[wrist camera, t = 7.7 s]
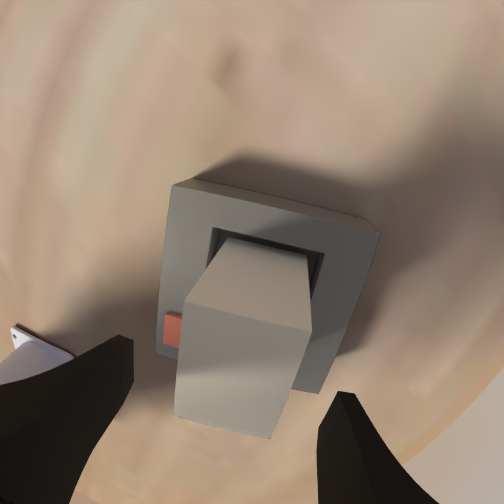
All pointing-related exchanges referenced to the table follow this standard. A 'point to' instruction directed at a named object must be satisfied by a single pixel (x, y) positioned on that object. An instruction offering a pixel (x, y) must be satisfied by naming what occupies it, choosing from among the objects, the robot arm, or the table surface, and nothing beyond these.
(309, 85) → the table surface
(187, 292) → the socket
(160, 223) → the table surface
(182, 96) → the table surface
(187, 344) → the plug
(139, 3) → the table surface
